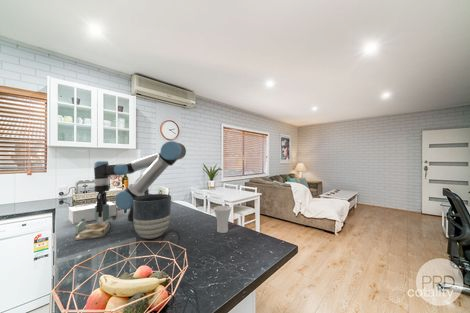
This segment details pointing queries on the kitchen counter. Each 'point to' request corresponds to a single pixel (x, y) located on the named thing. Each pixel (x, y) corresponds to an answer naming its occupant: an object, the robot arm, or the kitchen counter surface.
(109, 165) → the robot arm
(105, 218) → the cup
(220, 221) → the cup
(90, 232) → the tray
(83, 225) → the gate
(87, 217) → the tissue box
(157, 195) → the planter
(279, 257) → the kitchen counter surface
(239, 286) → the kitchen counter surface
